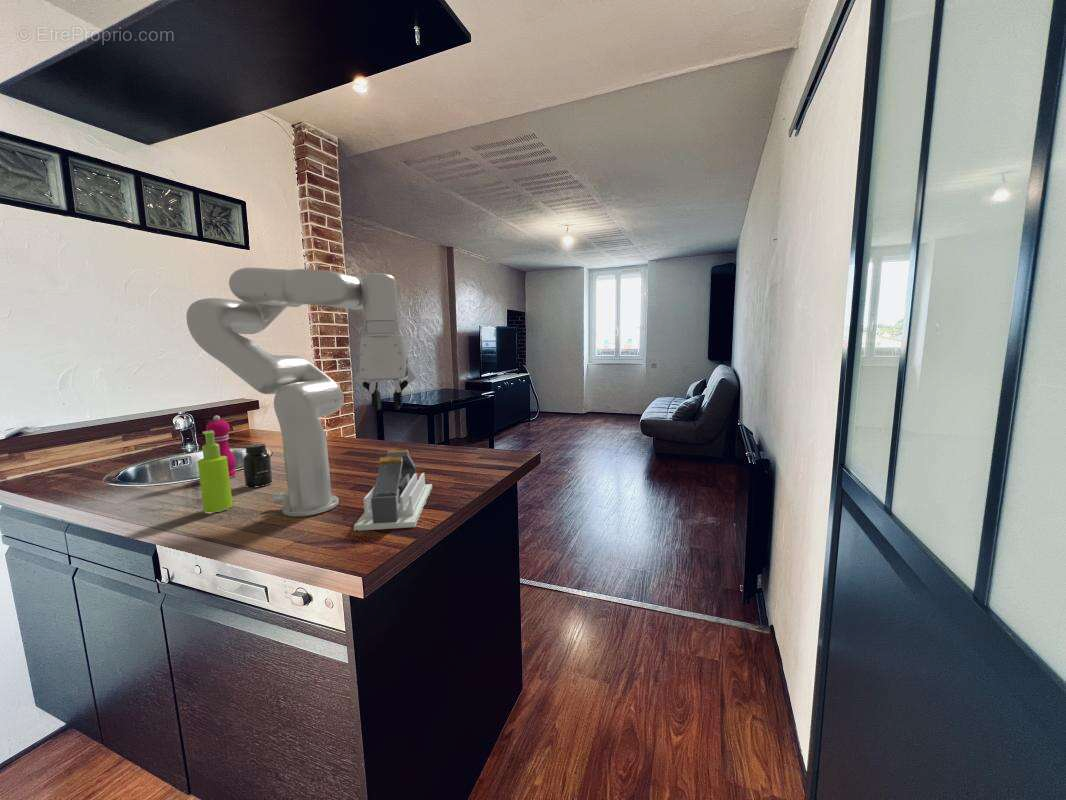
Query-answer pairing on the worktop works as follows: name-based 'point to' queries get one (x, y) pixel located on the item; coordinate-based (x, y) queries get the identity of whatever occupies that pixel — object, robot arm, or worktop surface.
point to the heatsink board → (396, 504)
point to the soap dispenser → (214, 476)
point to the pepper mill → (222, 441)
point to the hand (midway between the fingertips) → (387, 408)
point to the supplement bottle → (257, 466)
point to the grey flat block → (388, 476)
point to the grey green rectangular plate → (405, 456)
